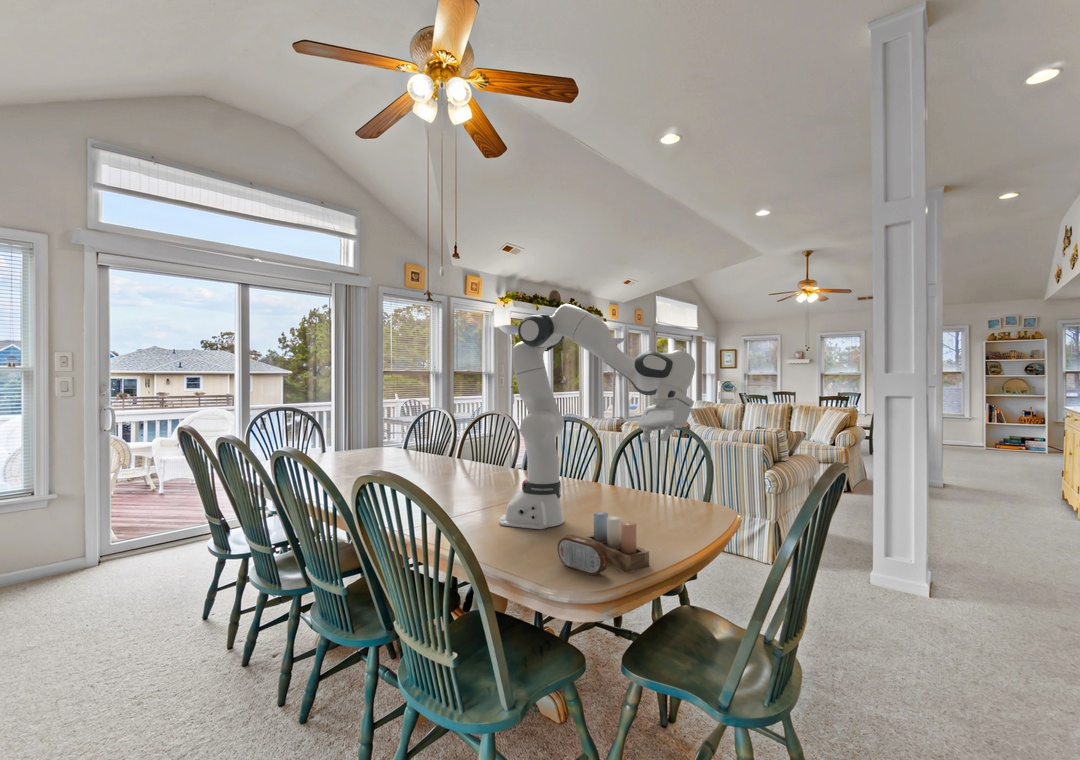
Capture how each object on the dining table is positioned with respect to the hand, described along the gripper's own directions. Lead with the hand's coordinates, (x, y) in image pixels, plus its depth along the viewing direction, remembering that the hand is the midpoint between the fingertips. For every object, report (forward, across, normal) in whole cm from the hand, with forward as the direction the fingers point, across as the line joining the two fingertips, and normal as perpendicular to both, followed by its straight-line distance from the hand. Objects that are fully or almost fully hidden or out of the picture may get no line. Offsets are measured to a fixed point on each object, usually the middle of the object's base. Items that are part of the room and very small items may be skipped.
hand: (653, 441), depth 150 cm
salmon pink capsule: (+33, +5, +2) cm, 33 cm away
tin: (+42, +3, -8) cm, 43 cm away
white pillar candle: (+32, -1, 0) cm, 32 cm away
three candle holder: (+35, -1, +2) cm, 35 cm away
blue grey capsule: (+32, -7, -1) cm, 33 cm away
